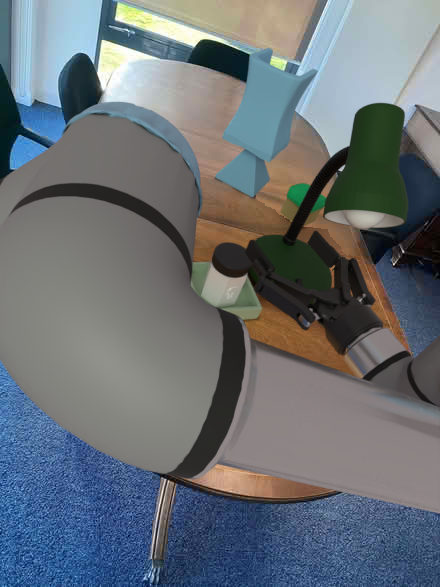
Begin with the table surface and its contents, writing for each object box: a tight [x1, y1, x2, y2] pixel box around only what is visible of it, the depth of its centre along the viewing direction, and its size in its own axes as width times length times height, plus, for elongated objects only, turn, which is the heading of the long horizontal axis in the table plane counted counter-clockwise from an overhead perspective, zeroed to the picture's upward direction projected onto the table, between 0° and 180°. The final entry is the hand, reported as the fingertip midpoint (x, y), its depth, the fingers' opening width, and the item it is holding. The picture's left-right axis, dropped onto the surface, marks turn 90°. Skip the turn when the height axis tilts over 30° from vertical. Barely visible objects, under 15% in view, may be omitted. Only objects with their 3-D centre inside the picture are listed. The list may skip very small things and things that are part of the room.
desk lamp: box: [247, 102, 410, 305], centre depth 80 cm, size 31×23×45 cm
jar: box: [201, 241, 252, 308], centre depth 83 cm, size 9×8×12 cm
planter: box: [214, 47, 319, 198], centre depth 113 cm, size 16×16×35 cm
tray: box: [191, 261, 264, 321], centre depth 86 cm, size 15×15×4 cm
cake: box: [279, 182, 327, 227], centre depth 116 cm, size 10×11×10 cm
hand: (282, 241), depth 65 cm, fingers open, 13 cm apart
